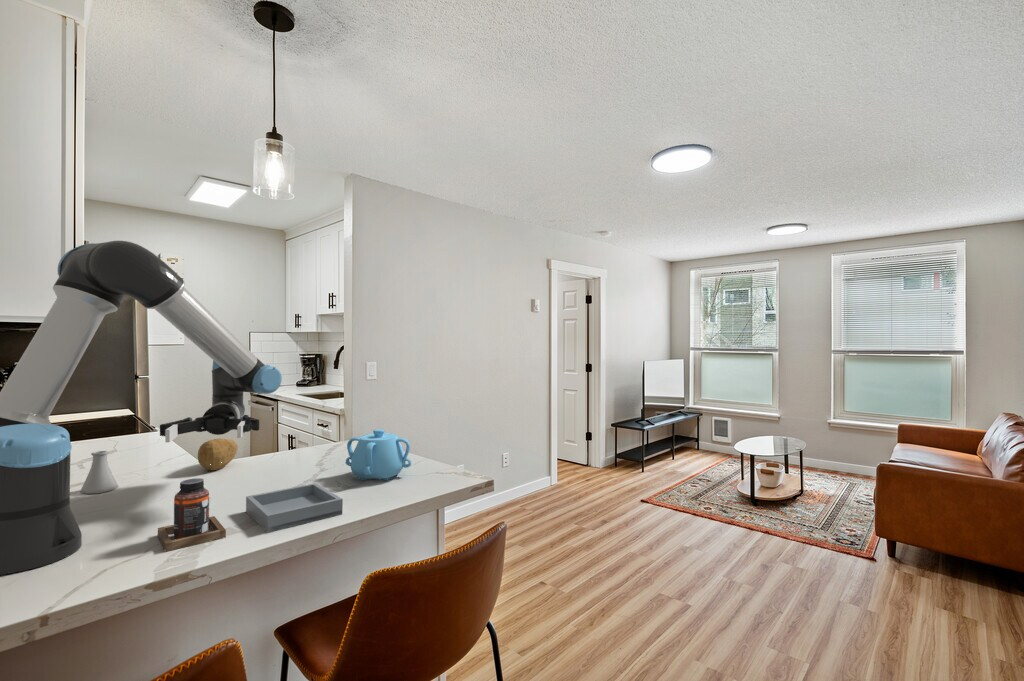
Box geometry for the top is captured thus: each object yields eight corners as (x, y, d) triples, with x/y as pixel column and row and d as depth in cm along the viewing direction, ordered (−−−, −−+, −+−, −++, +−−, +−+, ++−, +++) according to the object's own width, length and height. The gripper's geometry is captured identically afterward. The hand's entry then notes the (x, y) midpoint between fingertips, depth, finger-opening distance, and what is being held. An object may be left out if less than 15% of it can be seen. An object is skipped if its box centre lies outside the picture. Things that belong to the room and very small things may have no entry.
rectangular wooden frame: (165, 551, 91) (165, 543, 91) (157, 535, 98) (157, 528, 98) (225, 537, 98) (225, 529, 98) (214, 522, 105) (214, 516, 105)
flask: (124, 486, 129) (125, 449, 129) (99, 495, 122) (99, 455, 121) (100, 485, 129) (100, 448, 129) (73, 494, 122) (73, 454, 122)
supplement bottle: (214, 534, 99) (215, 479, 99) (183, 545, 94) (183, 487, 94) (199, 528, 102) (199, 474, 102) (167, 538, 97) (168, 482, 97)
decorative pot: (342, 473, 144) (342, 428, 144) (393, 465, 154) (393, 422, 154) (359, 487, 131) (360, 437, 131) (415, 478, 140) (415, 431, 140)
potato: (245, 460, 156) (245, 432, 156) (219, 474, 141) (219, 442, 141) (217, 461, 156) (217, 432, 156) (188, 474, 140) (188, 442, 140)
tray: (267, 532, 100) (267, 515, 100) (246, 511, 112) (246, 496, 112) (342, 514, 111) (342, 499, 111) (315, 496, 123) (315, 483, 123)
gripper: (274, 429, 131) (266, 446, 112) (164, 435, 122) (135, 455, 102) (274, 401, 131) (267, 414, 112) (164, 405, 122) (135, 420, 102)
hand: (204, 434), depth 107 cm, fingers open, 13 cm apart
